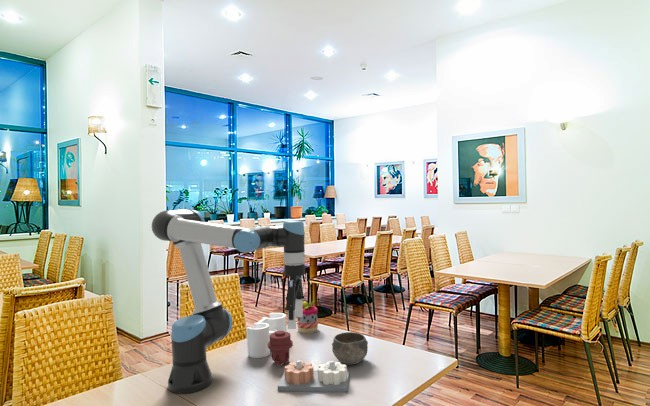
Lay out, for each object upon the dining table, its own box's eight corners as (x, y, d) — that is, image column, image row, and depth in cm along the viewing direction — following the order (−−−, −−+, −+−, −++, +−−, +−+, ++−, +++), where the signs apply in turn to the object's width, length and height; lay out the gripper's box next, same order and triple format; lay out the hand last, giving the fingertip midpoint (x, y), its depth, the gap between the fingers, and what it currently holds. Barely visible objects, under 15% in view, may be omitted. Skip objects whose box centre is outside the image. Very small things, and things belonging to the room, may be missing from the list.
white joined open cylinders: (265, 359, 167) (264, 330, 167) (244, 356, 170) (243, 328, 170) (290, 338, 190) (289, 313, 190) (271, 337, 194) (271, 312, 193)
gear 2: (322, 387, 137) (322, 375, 137) (315, 374, 147) (314, 363, 147) (351, 382, 140) (350, 371, 140) (341, 370, 150) (341, 359, 150)
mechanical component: (296, 358, 167) (289, 368, 157) (273, 357, 169) (264, 367, 159) (295, 328, 166) (288, 336, 157) (272, 327, 168) (263, 335, 159)
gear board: (277, 390, 139) (277, 368, 139) (285, 374, 152) (284, 354, 152) (347, 392, 136) (346, 369, 136) (349, 375, 149) (348, 355, 149)
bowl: (329, 368, 156) (328, 342, 156) (337, 353, 171) (336, 329, 171) (365, 370, 152) (364, 344, 152) (370, 355, 167) (369, 331, 167)
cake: (294, 332, 199) (293, 302, 198) (302, 326, 209) (301, 297, 208) (314, 334, 195) (313, 303, 195) (321, 327, 205) (320, 298, 205)
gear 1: (282, 384, 140) (282, 372, 140) (288, 371, 150) (287, 361, 150) (311, 384, 139) (311, 373, 139) (315, 372, 149) (314, 361, 149)
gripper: (298, 270, 132) (299, 334, 132) (310, 258, 157) (311, 312, 157) (276, 269, 133) (277, 333, 133) (291, 258, 158) (292, 312, 158)
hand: (295, 322), depth 145 cm, fingers open, 13 cm apart
